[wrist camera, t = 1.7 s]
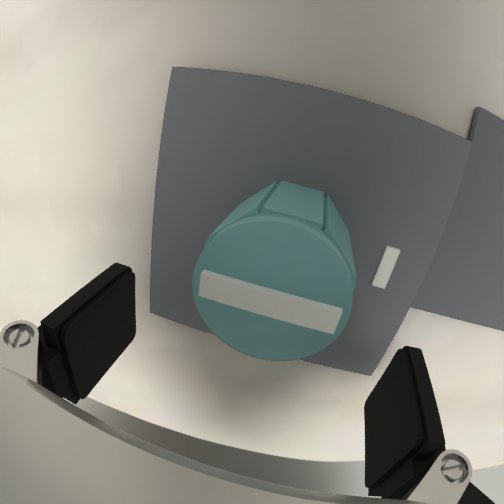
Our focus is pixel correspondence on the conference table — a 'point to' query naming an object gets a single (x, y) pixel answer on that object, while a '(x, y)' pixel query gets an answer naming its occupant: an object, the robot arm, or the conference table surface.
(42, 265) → the conference table surface
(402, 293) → the post plate
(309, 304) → the cap
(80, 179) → the conference table surface
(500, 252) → the mat
